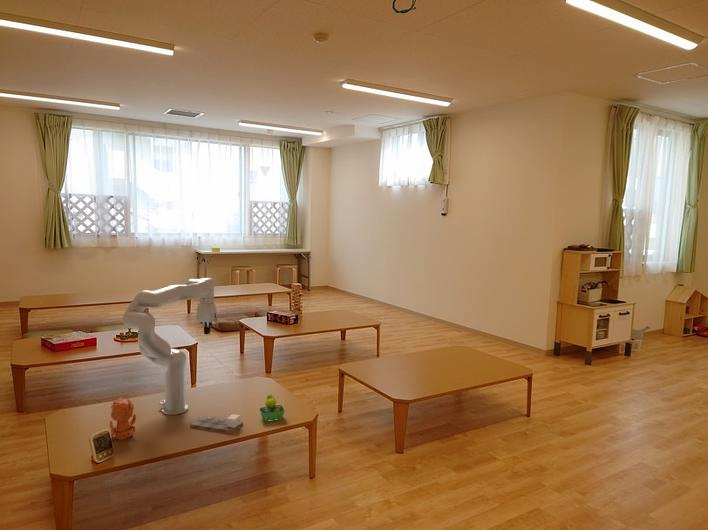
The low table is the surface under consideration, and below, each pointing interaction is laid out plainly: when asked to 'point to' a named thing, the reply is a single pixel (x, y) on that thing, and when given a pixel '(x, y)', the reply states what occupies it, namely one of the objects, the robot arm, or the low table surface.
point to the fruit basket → (271, 409)
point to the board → (214, 424)
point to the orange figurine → (122, 419)
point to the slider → (233, 420)
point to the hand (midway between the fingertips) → (207, 333)
